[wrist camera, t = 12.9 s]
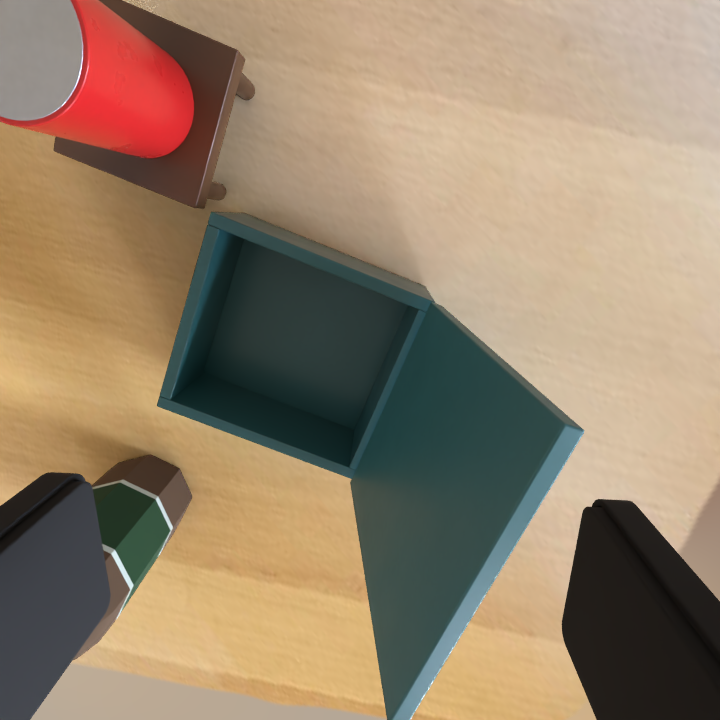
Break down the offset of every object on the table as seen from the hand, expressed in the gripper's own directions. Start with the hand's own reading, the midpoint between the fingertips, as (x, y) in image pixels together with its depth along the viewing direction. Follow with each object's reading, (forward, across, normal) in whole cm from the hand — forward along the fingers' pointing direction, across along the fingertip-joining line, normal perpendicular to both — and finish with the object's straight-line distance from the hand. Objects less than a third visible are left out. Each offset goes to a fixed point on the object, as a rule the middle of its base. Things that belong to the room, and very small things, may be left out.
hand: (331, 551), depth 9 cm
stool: (+28, +14, -12) cm, 33 cm away
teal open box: (+28, +5, +3) cm, 28 cm away
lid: (+13, -3, +5) cm, 14 cm away
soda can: (+22, +14, -12) cm, 28 cm away
